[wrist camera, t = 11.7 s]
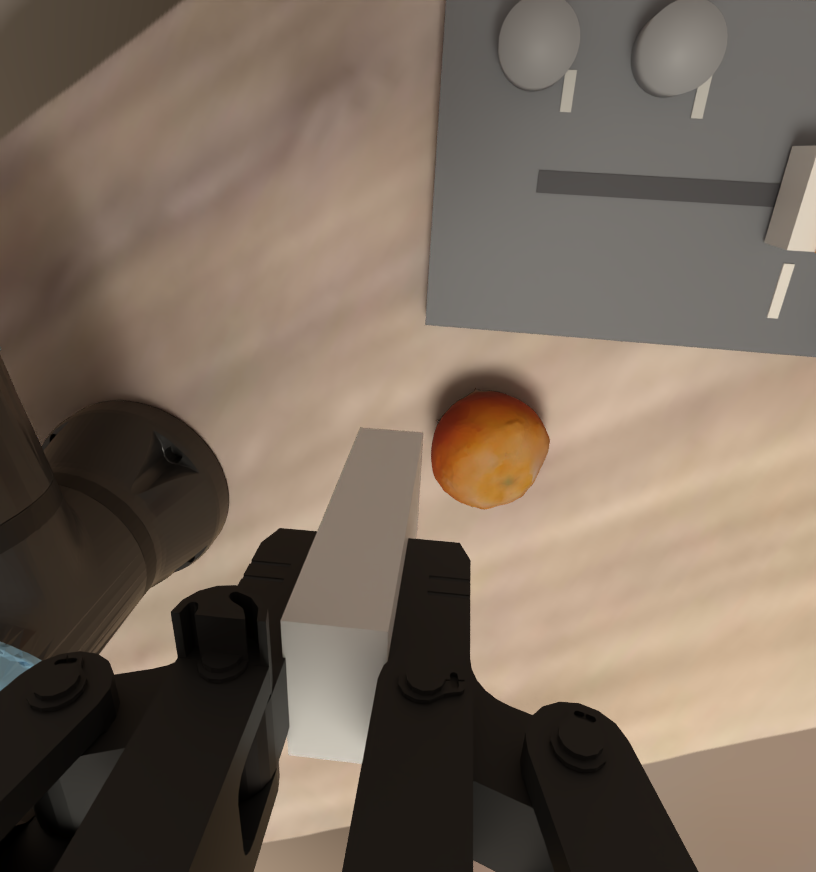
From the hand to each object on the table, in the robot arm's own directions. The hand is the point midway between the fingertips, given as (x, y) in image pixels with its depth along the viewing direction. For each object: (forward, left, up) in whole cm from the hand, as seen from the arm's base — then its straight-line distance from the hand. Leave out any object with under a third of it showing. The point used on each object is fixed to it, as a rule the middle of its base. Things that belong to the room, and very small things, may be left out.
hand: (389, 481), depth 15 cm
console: (+13, +6, -28) cm, 32 cm away
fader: (+19, +6, -26) cm, 33 cm away
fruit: (+3, -11, -28) cm, 31 cm away
